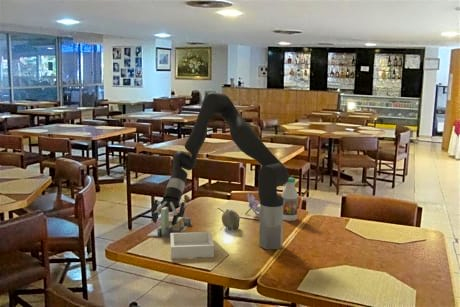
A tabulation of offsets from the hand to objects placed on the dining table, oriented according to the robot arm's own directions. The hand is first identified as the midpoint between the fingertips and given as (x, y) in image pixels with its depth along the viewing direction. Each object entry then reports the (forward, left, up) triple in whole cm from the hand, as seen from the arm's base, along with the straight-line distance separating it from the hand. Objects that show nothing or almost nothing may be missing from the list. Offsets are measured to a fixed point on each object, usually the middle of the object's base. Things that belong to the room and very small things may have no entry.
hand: (163, 223), depth 200 cm
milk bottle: (+20, -60, -6) cm, 63 cm away
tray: (-17, -11, -6) cm, 21 cm away
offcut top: (+8, -4, -3) cm, 10 cm away
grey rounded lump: (+8, -30, -6) cm, 31 cm away
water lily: (+27, -45, -6) cm, 52 cm away
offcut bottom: (+8, -4, -5) cm, 10 cm away
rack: (+6, -3, -6) cm, 9 cm away
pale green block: (+1, -1, -5) cm, 5 cm away
